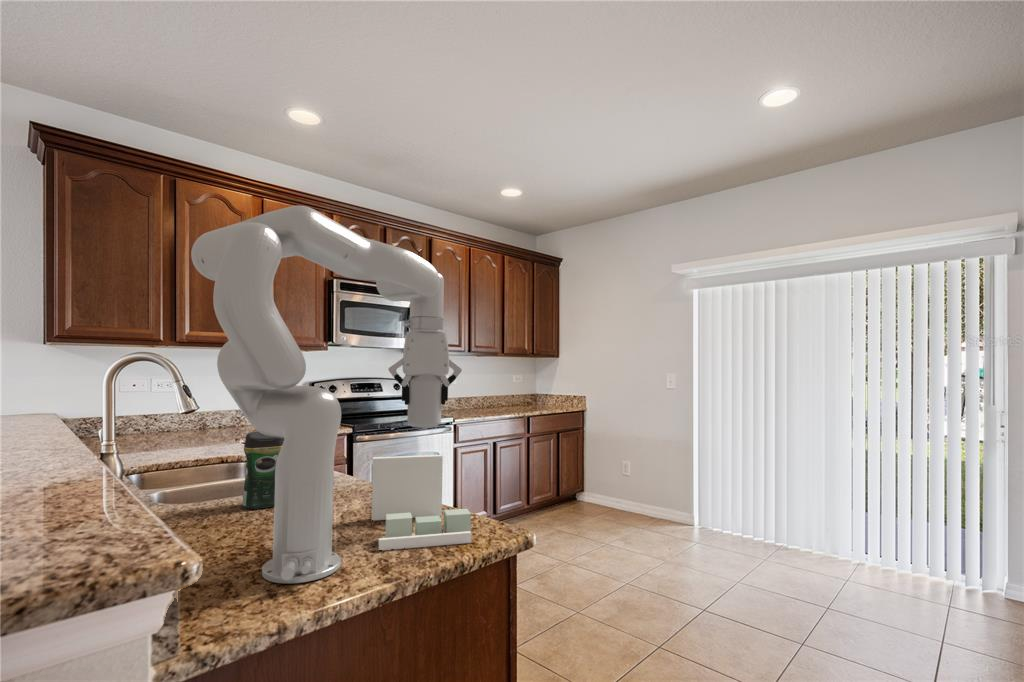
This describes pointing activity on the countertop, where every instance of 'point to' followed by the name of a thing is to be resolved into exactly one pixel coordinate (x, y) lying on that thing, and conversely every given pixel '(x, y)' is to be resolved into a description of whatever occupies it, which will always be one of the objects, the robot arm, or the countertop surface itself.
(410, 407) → the can
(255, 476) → the coffee jar
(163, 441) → the countertop surface
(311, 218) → the robot arm
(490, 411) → the countertop surface
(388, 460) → the rack
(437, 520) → the offcut mid
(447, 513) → the offcut
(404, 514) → the offcut
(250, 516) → the countertop surface
